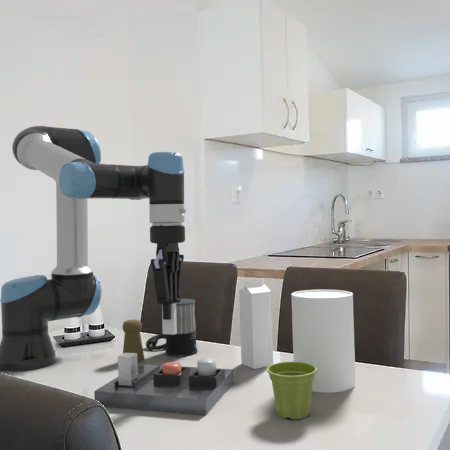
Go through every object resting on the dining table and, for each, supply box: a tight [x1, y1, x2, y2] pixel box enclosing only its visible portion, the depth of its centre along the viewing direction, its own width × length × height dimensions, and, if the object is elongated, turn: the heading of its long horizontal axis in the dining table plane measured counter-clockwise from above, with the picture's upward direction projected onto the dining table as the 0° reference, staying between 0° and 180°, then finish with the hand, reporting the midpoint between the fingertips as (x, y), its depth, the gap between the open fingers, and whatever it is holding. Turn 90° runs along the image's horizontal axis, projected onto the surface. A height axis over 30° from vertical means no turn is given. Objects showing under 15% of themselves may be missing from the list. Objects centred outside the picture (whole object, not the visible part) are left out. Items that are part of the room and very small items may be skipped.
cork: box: [122, 319, 145, 364], centre depth 137 cm, size 6×6×11 cm
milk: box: [238, 277, 274, 370], centre depth 129 cm, size 6×6×22 cm
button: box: [162, 361, 182, 375], centre depth 109 cm, size 4×4×3 cm
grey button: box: [196, 357, 217, 377], centre depth 107 cm, size 4×4×3 cm
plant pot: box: [266, 361, 317, 420], centre depth 95 cm, size 9×9×9 cm
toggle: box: [117, 352, 139, 386], centre depth 107 cm, size 3×3×6 cm
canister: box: [291, 289, 356, 393], centre depth 113 cm, size 14×14×20 cm
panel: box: [93, 363, 235, 416], centre depth 109 cm, size 24×20×5 cm
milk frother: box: [145, 298, 198, 357], centre depth 146 cm, size 14×16×15 cm
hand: (169, 333), depth 109 cm, fingers closed
